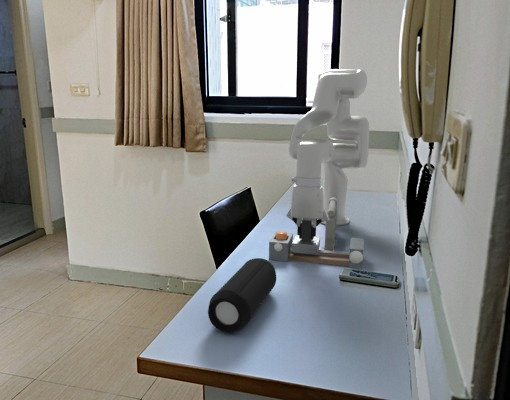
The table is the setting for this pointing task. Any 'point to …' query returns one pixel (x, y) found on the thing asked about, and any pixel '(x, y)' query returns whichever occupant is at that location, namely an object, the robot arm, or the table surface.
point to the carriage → (306, 240)
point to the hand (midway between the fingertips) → (306, 237)
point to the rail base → (322, 257)
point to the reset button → (281, 235)
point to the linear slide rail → (282, 247)
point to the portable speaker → (242, 295)
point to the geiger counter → (331, 225)
